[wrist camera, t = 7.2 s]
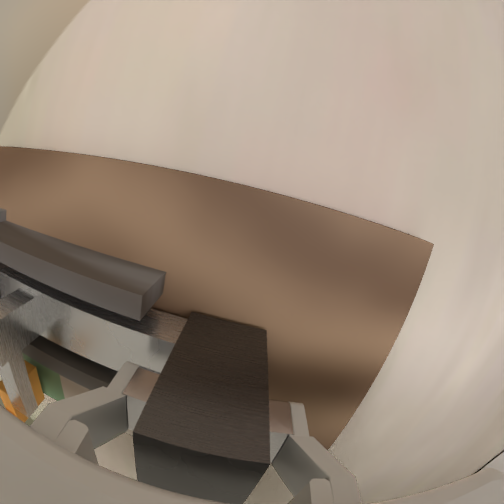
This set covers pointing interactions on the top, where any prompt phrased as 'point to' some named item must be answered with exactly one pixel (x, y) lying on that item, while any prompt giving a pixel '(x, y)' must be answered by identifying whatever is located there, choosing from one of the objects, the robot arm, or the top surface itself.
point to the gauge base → (211, 270)
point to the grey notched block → (158, 384)
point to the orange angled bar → (36, 388)
